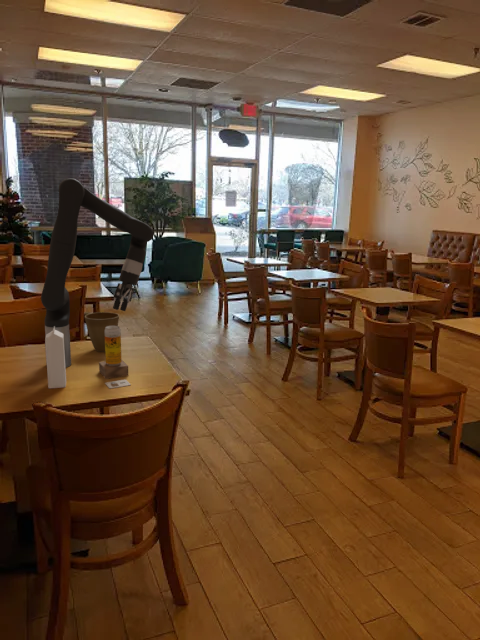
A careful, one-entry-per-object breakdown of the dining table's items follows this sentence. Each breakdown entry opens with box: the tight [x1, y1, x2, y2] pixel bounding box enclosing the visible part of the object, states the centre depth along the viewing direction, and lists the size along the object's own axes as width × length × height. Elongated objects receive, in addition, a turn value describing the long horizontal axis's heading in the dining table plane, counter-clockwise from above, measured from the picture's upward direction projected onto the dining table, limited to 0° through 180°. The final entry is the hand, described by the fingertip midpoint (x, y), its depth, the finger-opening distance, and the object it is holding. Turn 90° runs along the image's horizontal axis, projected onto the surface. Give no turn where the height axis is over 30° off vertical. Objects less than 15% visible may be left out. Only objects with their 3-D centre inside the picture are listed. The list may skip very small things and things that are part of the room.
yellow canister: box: [104, 325, 123, 366], centre depth 198 cm, size 6×6×15 cm
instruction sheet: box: [104, 378, 131, 390], centre depth 189 cm, size 8×6×1 cm
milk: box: [44, 326, 67, 389], centre depth 184 cm, size 6×6×22 cm
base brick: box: [98, 359, 129, 380], centre depth 200 cm, size 9×9×4 cm
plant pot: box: [84, 311, 120, 353], centre depth 228 cm, size 15×15×16 cm
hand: (119, 310), depth 205 cm, fingers open, 8 cm apart
